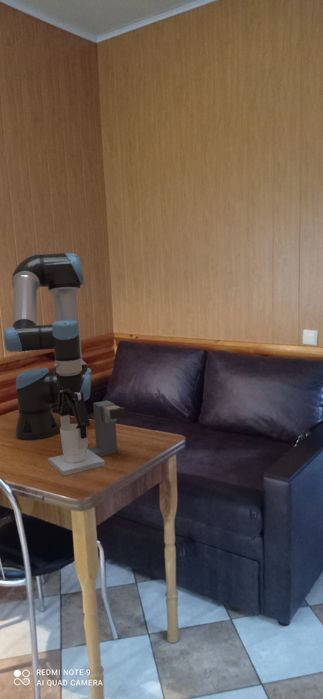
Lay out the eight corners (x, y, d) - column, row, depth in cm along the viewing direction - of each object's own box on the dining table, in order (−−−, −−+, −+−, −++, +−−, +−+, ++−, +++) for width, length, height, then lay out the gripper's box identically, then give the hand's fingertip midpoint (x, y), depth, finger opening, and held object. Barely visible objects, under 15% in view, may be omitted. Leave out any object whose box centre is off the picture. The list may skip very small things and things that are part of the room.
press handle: (101, 421, 165) (100, 405, 165) (114, 419, 168) (113, 402, 167) (113, 428, 159) (111, 410, 158) (126, 425, 161) (125, 408, 160)
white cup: (80, 452, 167) (78, 421, 165) (93, 458, 161) (91, 427, 159) (57, 459, 162) (55, 427, 161) (70, 465, 156) (67, 433, 154)
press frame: (48, 462, 164) (44, 412, 161) (110, 447, 174) (107, 400, 172) (63, 476, 153) (59, 422, 150) (128, 459, 163) (125, 408, 160)
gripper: (43, 368, 166) (49, 433, 169) (72, 382, 144) (78, 456, 148) (66, 364, 169) (71, 428, 173) (98, 378, 148) (103, 450, 152)
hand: (74, 441), depth 161 cm, fingers open, 13 cm apart
